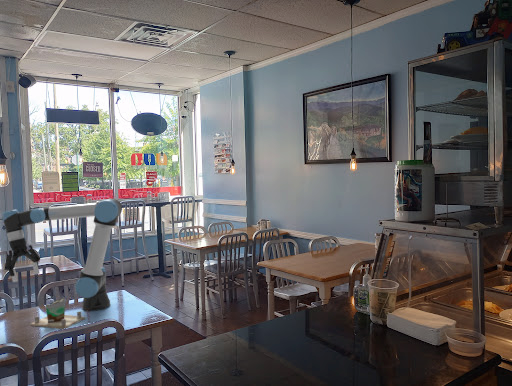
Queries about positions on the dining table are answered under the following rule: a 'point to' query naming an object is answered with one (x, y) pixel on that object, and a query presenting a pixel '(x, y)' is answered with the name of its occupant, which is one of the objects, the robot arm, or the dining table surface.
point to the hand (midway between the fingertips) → (26, 277)
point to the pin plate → (61, 324)
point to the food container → (56, 310)
